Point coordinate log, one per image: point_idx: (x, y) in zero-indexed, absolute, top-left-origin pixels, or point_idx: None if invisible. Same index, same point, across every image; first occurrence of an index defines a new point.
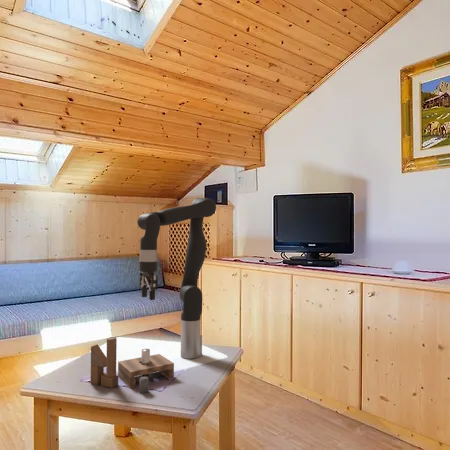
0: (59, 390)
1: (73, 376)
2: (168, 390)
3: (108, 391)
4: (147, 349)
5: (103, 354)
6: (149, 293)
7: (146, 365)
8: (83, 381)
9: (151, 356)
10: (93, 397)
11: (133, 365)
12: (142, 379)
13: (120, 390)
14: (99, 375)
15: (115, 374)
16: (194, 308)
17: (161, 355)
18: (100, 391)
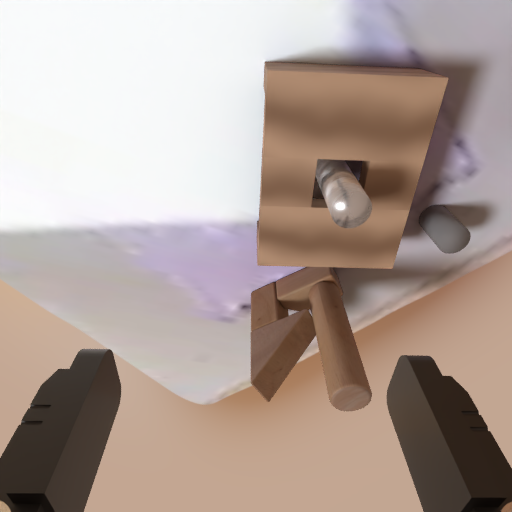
0: None
1: (182, 328)
2: (491, 147)
3: (351, 289)
4: (351, 201)
5: (282, 346)
6: (419, 495)
7: (376, 198)
8: (236, 318)
9: (281, 128)
10: (359, 324)
11: (339, 238)
12: (458, 247)
13: None
14: (286, 311)
15: (337, 289)
16: None
17: (298, 73)
18: None
